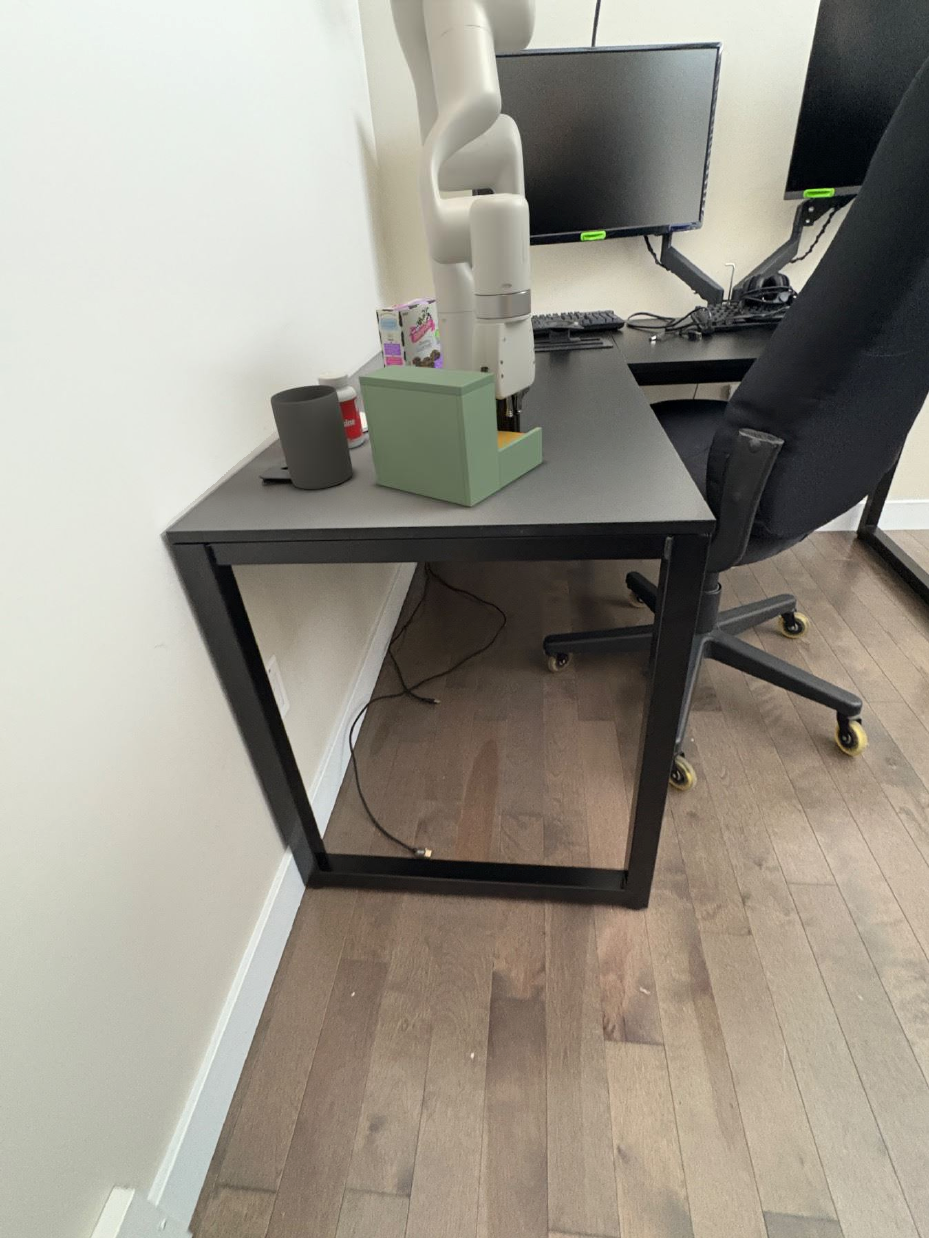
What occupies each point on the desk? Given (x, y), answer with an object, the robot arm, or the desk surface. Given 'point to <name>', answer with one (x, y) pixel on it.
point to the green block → (441, 433)
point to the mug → (312, 436)
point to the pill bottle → (346, 405)
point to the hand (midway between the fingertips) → (509, 440)
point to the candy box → (410, 334)
